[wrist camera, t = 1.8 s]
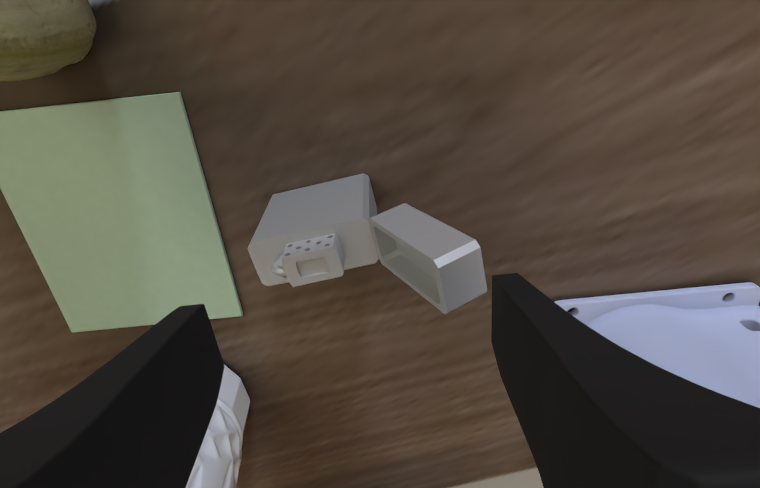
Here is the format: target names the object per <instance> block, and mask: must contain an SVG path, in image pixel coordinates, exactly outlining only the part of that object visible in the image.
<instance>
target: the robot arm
mask: <svg viewBox="0 0 760 488" xmlns="http://www.w3.org/2000/svg"><path fill="white" fill-rule="evenodd" d="M726 294H728V295H727V296H725V295H726ZM724 296H725V297H724ZM759 301H760V287H759V286H757V285H756V284H754V283H752V282H746V283H735V284H724V285H714V286H703V287H693V288H682V289H672V290H661V291H651V292H640V293H630V294H619V295H609V296H598V297H588V298H577V299H567V300H558V301H555V302H553V301H552V300H551V299H549V298H548V297H547V296H546V295H544V294H543V293H542V292H541V291H539V290H538V289H537V288H535V287H534V286H533V285H532V284H530V283H529V282H528V281H527V280H525V279H524V278H523V277H522V276H520V275H519V274H518V273H513V274H503V275H492V345H493V349H494V353H495V357H496V361H497V364H498V368H499V371H500V375H501V378H502V381H503V383H504V386H505V388H506V391H507V393H508V396H509V398H510V401H511V403H512V405H513V408H514V410H515V413H516V415H517V418H518V420H519V422H520V425H521V427H522V430H523V432H524V435H525V437H526V439H527V442H528V444H529V447H530V449H531V452H532V454H533V457H534V459H535V462H536V465H537V468H538V470H539V473H540V476H541V480H542V483H543V486H544V488H760V307H759V306H758V304H759ZM571 308H575V309H574V310H573V311H571V312H567V311H568V310H569V309H571ZM224 367H225V366H224V363H223V360H222V357H221V354H220V351H219V348H218V345H217V342H216V339H215V336H214V333H213V330H212V327H211V323H210V320H209V317H208V314H207V311H206V308H205V305H204V304H196V305H186V306H180V307H178V308H177V309H175V310H174V311H172V312H171V313H169V314H168V315H167V316H166V317H164V318H163V319H162V320H160V321H159V322H158V323H157V324H155V325H154V326H153V327H152V328H150V329H149V330H148V331H147V332H146V333H144V334H143V335H142V336H141V337H139V338H138V339H137V340H136V341H134V342H133V343H132V344H131V345H129V346H128V347H127V348H126V349H124V350H123V351H122V352H121V353H119V354H118V355H117V356H116V357H114V358H113V359H112V360H110V361H109V362H108V363H106V364H105V365H104V366H102V367H101V368H100V369H98V370H97V371H95V372H94V373H93V374H91V375H90V376H89V377H87V378H86V379H85V380H83V381H82V382H81V383H79V384H78V385H77V386H75V387H74V388H72V389H71V390H69V391H68V392H67V393H65V394H64V395H62V396H61V397H59V398H58V399H56V400H55V401H53V402H51V403H50V404H48V405H47V406H45V407H44V408H42V409H40V410H39V411H37V412H36V413H34V414H33V415H31V416H29V417H28V418H26V419H24V420H23V421H21V422H19V423H17V424H16V425H14V426H12V427H10V428H9V429H7V430H5V431H3V432H2V433H0V488H186V485H187V482H188V480H189V477H190V474H191V472H192V469H193V466H194V464H195V461H196V458H197V455H198V453H199V450H200V447H201V445H202V442H203V439H204V437H205V434H206V431H207V429H208V426H209V423H210V420H211V418H212V415H213V412H214V409H215V406H216V403H217V399H218V395H219V391H220V387H221V382H222V377H223V372H224Z"/></svg>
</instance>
